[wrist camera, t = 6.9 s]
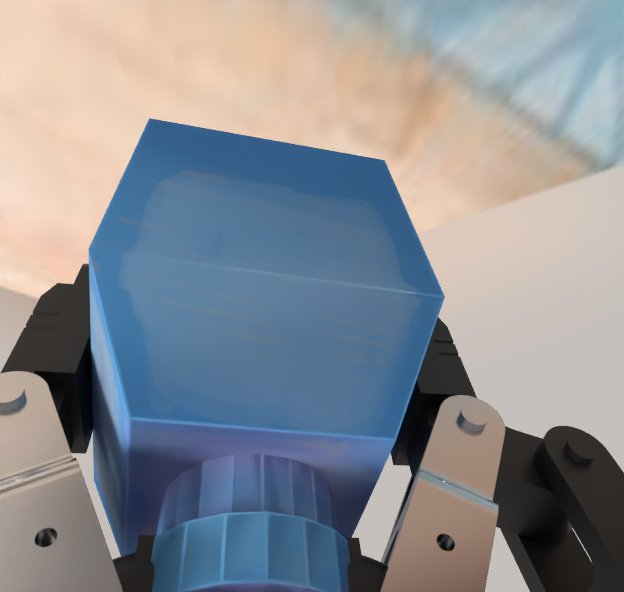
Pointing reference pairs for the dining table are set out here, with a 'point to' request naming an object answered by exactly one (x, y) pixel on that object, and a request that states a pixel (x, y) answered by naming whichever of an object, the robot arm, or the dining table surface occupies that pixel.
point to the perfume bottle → (250, 355)
